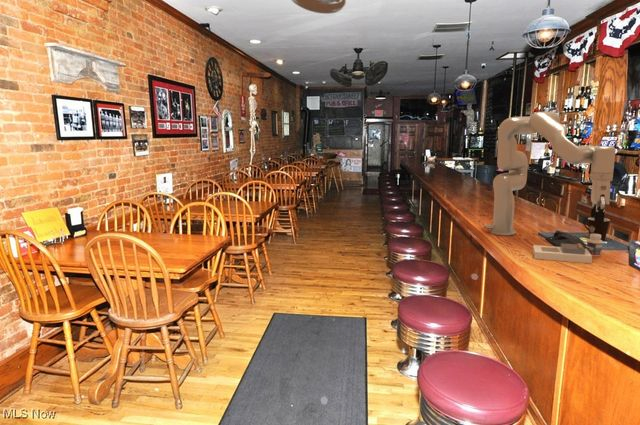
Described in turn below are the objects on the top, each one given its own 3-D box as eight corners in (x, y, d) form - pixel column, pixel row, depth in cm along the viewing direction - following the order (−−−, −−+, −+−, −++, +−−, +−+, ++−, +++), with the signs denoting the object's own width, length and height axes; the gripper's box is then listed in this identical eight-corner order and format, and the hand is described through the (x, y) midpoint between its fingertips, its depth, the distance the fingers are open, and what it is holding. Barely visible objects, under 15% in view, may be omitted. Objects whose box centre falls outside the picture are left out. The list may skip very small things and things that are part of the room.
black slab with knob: (553, 251, 175) (554, 241, 174) (544, 238, 196) (545, 229, 195) (593, 253, 170) (595, 242, 169) (580, 240, 190) (580, 230, 190)
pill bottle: (583, 253, 170) (584, 233, 168) (594, 252, 170) (596, 232, 168) (592, 257, 164) (594, 236, 163) (604, 256, 165) (606, 235, 163)
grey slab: (563, 252, 162) (563, 246, 161) (560, 247, 168) (561, 241, 168) (584, 254, 159) (585, 247, 158) (581, 249, 165) (581, 242, 165)
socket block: (534, 258, 165) (535, 252, 164) (532, 251, 175) (533, 245, 174) (591, 263, 157) (592, 256, 156) (586, 255, 167) (586, 248, 166)
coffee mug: (611, 242, 184) (613, 221, 182) (590, 241, 186) (592, 221, 184) (599, 235, 195) (601, 216, 193) (580, 235, 197) (582, 216, 195)
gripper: (618, 179, 151) (613, 224, 155) (607, 174, 167) (602, 215, 170) (595, 179, 154) (590, 223, 158) (586, 174, 170) (582, 214, 173)
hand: (597, 219), depth 164 cm, fingers open, 6 cm apart
